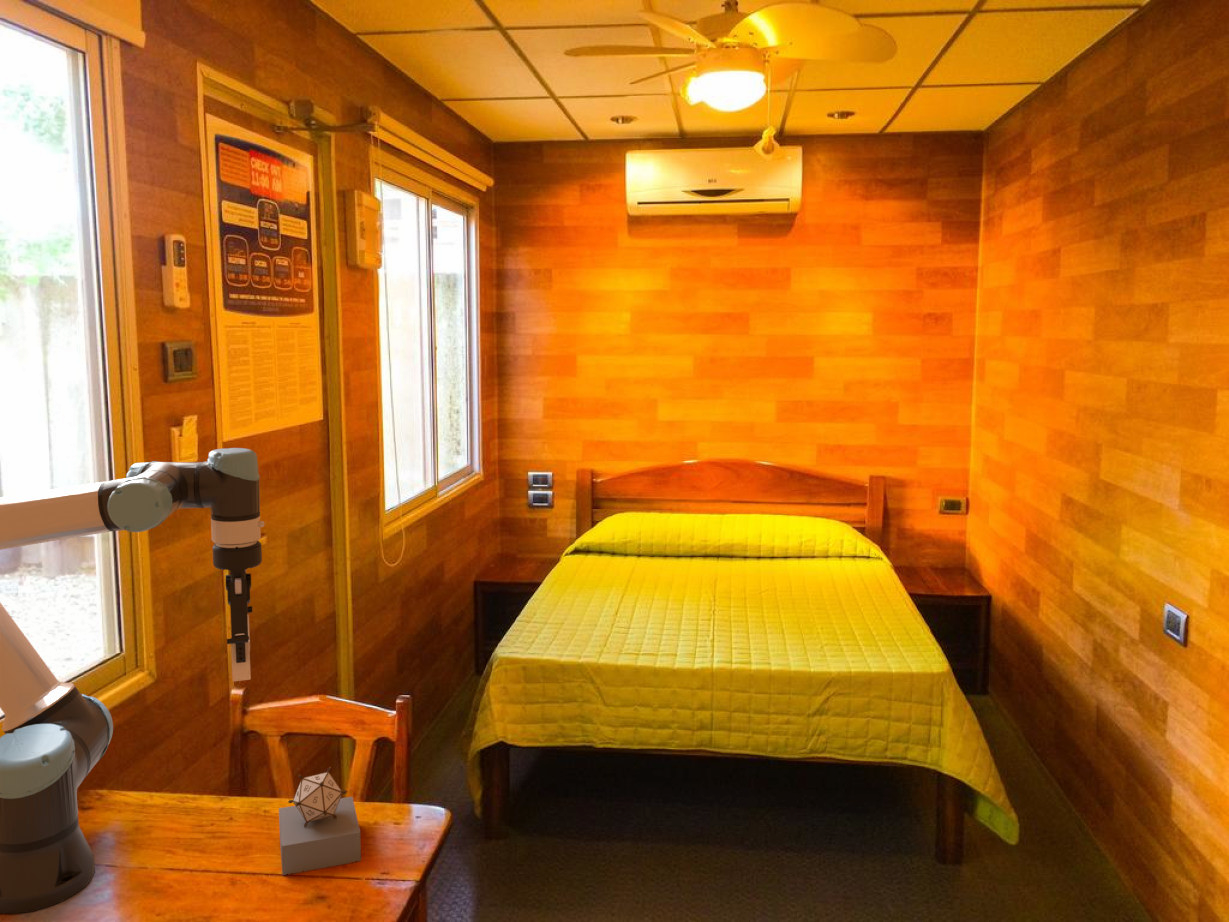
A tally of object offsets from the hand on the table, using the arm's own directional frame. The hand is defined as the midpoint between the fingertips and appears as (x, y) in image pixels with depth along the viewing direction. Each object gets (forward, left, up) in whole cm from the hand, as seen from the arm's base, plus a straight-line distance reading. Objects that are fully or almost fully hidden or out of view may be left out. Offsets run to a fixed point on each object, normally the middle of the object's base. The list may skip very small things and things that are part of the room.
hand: (241, 665), depth 157 cm
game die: (+11, -12, -24) cm, 29 cm away
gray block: (+11, -12, -29) cm, 33 cm away
